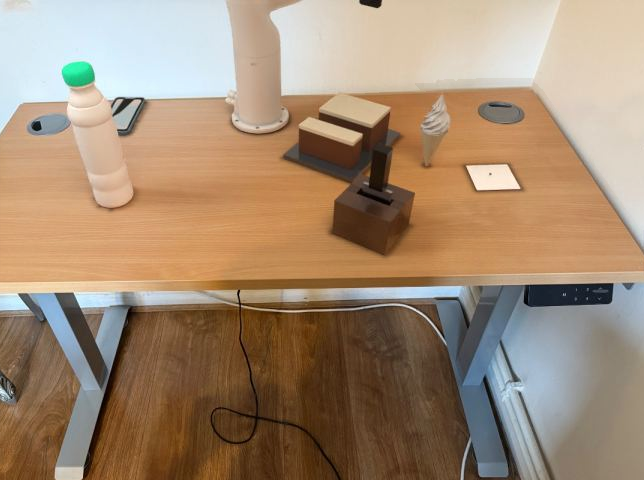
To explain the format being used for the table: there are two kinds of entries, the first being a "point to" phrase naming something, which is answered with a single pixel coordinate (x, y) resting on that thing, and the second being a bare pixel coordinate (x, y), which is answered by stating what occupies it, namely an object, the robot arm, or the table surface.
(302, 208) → the table surface
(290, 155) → the cake board
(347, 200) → the knife block
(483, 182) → the coaster
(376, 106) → the cake
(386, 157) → the knife
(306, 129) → the cake slice
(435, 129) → the ice cream cone
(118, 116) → the smartphone
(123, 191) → the water bottle
